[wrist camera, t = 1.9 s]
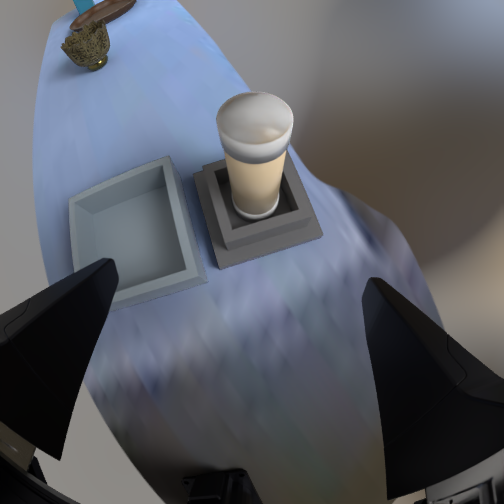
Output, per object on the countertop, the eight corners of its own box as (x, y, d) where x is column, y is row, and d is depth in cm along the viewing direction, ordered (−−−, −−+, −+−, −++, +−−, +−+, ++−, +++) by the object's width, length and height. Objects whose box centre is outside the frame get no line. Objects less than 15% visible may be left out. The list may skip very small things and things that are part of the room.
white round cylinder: (284, 215, 23) (305, 136, 12) (240, 228, 22) (227, 155, 12) (269, 177, 23) (277, 86, 13) (227, 189, 23) (208, 101, 12)
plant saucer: (72, 26, 37) (68, 19, 34) (133, -5, 38) (130, -13, 36) (75, 46, 33) (70, 36, 30) (150, 7, 35) (147, -3, 32)
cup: (84, 87, 29) (62, 53, 21) (77, 70, 30) (58, 41, 22) (125, 60, 30) (108, 23, 22) (113, 47, 31) (99, 15, 23)
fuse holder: (320, 237, 23) (331, 225, 20) (220, 269, 23) (214, 262, 19) (285, 153, 25) (288, 131, 22) (194, 178, 25) (186, 159, 21)
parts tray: (208, 282, 22) (198, 276, 19) (105, 313, 22) (81, 312, 18) (180, 177, 25) (169, 155, 21) (89, 213, 24) (68, 198, 20)
